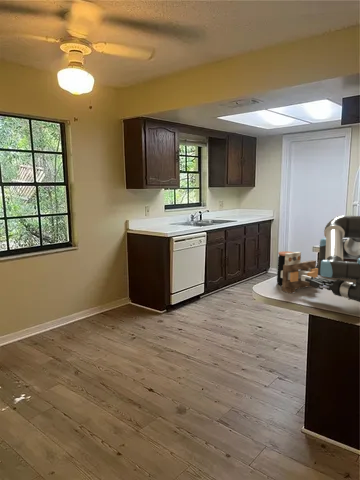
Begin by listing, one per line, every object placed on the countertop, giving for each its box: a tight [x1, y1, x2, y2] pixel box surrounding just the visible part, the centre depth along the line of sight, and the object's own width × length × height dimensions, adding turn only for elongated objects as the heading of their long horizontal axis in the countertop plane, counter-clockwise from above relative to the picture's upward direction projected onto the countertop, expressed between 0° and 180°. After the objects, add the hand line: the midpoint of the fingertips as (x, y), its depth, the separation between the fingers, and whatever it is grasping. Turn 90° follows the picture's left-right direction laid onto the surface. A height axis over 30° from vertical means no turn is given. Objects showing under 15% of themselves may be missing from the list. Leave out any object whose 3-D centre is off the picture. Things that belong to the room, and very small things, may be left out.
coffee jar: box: [276, 250, 294, 286], centre depth 200 cm, size 11×11×18 cm
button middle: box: [298, 270, 316, 278], centre depth 189 cm, size 5×8×5 cm, turn 32°
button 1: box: [281, 270, 299, 282], centre depth 189 cm, size 5×8×5 cm, turn 32°
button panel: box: [281, 251, 318, 294], centre depth 191 cm, size 24×6×20 cm, turn 122°
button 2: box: [308, 268, 319, 278], centre depth 197 cm, size 5×8×5 cm, turn 32°
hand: (302, 277), depth 181 cm, fingers closed
